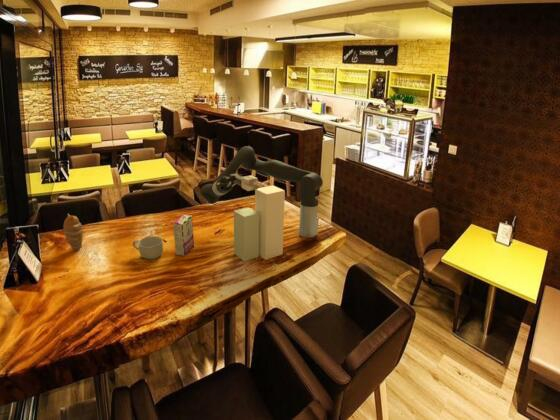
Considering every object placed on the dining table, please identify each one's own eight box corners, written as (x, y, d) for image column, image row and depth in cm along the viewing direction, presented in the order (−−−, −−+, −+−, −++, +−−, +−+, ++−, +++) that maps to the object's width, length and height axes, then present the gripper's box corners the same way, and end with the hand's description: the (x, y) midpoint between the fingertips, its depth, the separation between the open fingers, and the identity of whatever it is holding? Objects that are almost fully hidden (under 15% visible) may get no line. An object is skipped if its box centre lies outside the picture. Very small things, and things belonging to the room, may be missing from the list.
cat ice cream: (64, 249, 182) (57, 214, 175) (81, 244, 187) (75, 210, 181) (71, 256, 176) (65, 219, 170) (89, 250, 182) (83, 215, 175)
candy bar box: (185, 245, 190) (183, 214, 184) (194, 246, 189) (192, 215, 184) (174, 255, 180) (172, 222, 174) (184, 256, 179) (182, 224, 173)
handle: (237, 179, 180) (237, 169, 178) (257, 189, 167) (257, 178, 165) (228, 181, 177) (227, 170, 175) (247, 191, 164) (247, 179, 163)
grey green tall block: (248, 249, 187) (248, 207, 180) (258, 256, 181) (259, 213, 173) (234, 253, 183) (233, 210, 175) (244, 261, 176) (244, 216, 168)
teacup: (168, 253, 181) (167, 238, 178) (154, 263, 172) (152, 247, 169) (143, 248, 185) (142, 233, 183) (128, 258, 176) (126, 242, 173)
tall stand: (271, 247, 191) (273, 185, 179) (282, 254, 184) (284, 190, 173) (254, 252, 185) (255, 188, 174) (265, 259, 178) (266, 194, 167)
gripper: (237, 191, 192) (253, 182, 177) (211, 196, 184) (226, 187, 169) (233, 176, 192) (249, 166, 178) (207, 180, 184) (222, 170, 170)
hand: (238, 176), depth 174 cm, fingers closed on handle, 3 cm apart
